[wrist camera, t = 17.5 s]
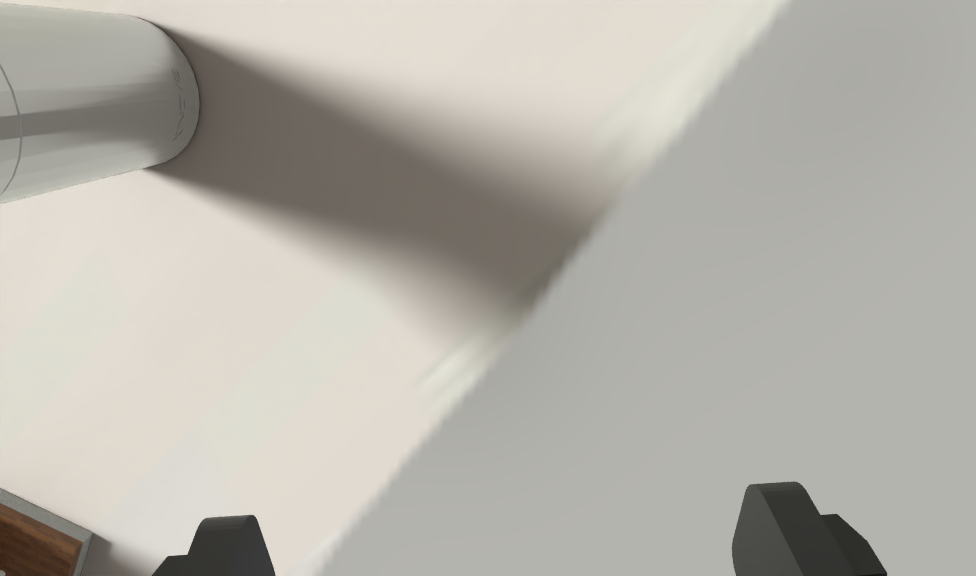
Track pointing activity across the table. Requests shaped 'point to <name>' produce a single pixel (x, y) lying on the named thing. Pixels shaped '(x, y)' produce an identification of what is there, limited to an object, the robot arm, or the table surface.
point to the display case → (39, 541)
